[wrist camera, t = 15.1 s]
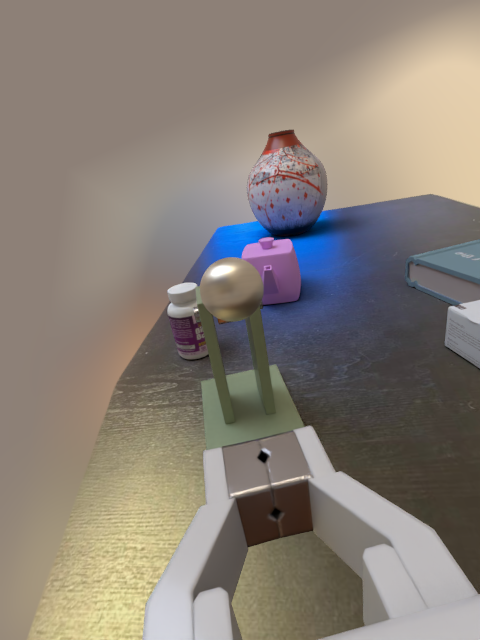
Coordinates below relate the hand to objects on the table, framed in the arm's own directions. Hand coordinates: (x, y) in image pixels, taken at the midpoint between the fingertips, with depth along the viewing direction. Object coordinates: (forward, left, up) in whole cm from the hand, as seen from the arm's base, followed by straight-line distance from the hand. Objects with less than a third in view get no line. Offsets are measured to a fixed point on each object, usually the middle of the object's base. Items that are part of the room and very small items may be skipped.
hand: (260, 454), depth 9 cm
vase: (+28, +99, -17) cm, 104 cm away
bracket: (+1, +21, -16) cm, 27 cm away
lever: (+1, +15, -3) cm, 16 cm away
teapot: (+11, +52, -17) cm, 56 cm away
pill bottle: (-4, +37, -17) cm, 41 cm away
